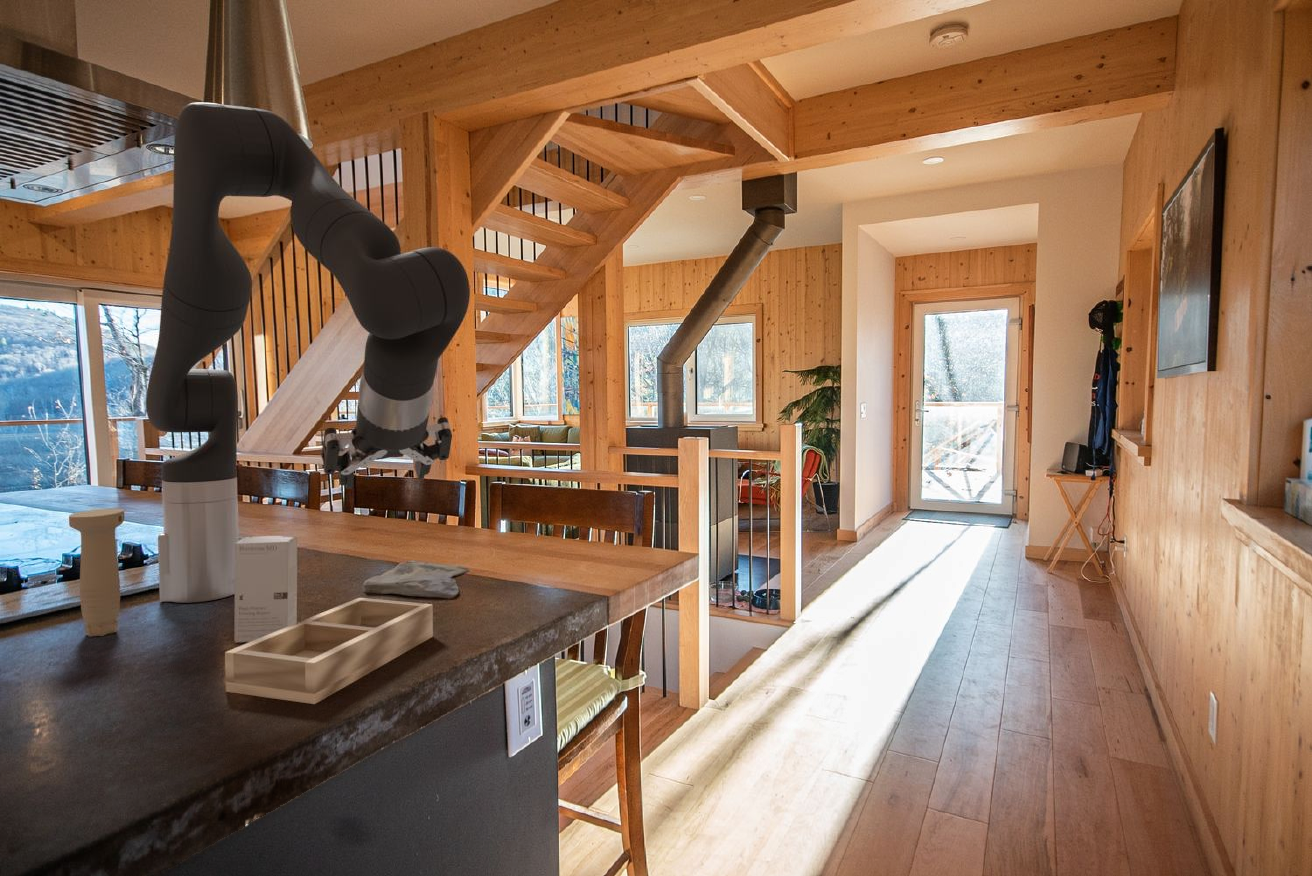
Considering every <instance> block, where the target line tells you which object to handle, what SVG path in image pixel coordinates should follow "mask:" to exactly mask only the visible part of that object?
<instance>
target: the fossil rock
mask: <svg viewBox="0 0 1312 876" xmlns="http://www.w3.org/2000/svg"><path fill="white" fill-rule="evenodd" d="M469 571H470V568H469V567H465V566H462V565H453V564H452V565H450V564H447V565H446V564H439V563H434V562H433V563H432V562H426V561H425V562H422V561H418V560H415V559H412V560H408V561H406V562H399V564H397V565H396V566H395V567H394V568H392V569H390V570H387V571H385V572H384V573H382V574H381V575H380V574H379V575H374V576H372V577H370V578H368V579H366V580H365V581H364V582H363V590H362V593H365V594H367V593H369V594H378V595H380V594H381V595H389V594H395V595H400V596H401V595H403V596H409V597H423V598H424V597H425V598H441V599H454V598H456V596H457V595H458V594H459V593H460V591H459V586H458V584H457V581H456V579H455V578H454V577H456V576H459V575H464V574H466V573H467V572H469ZM463 573H464V574H463Z"/></svg>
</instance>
